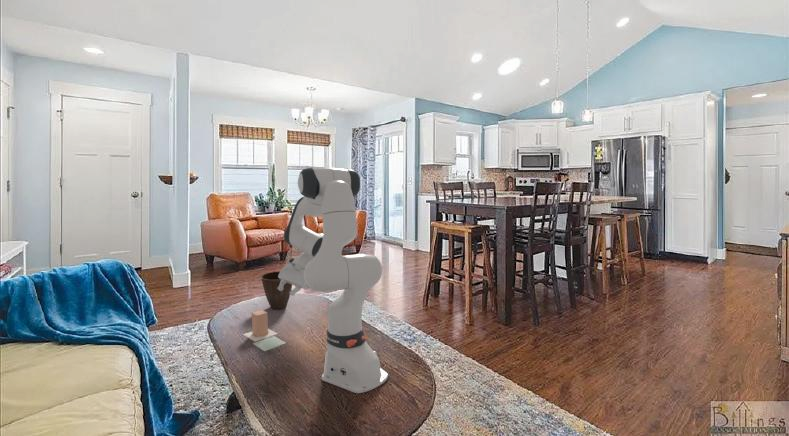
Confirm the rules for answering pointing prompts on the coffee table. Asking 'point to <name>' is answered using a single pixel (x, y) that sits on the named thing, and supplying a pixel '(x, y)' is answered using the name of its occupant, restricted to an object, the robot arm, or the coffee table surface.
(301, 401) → the coffee table surface
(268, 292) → the plant pot
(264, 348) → the coaster
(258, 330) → the block
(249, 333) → the tile
